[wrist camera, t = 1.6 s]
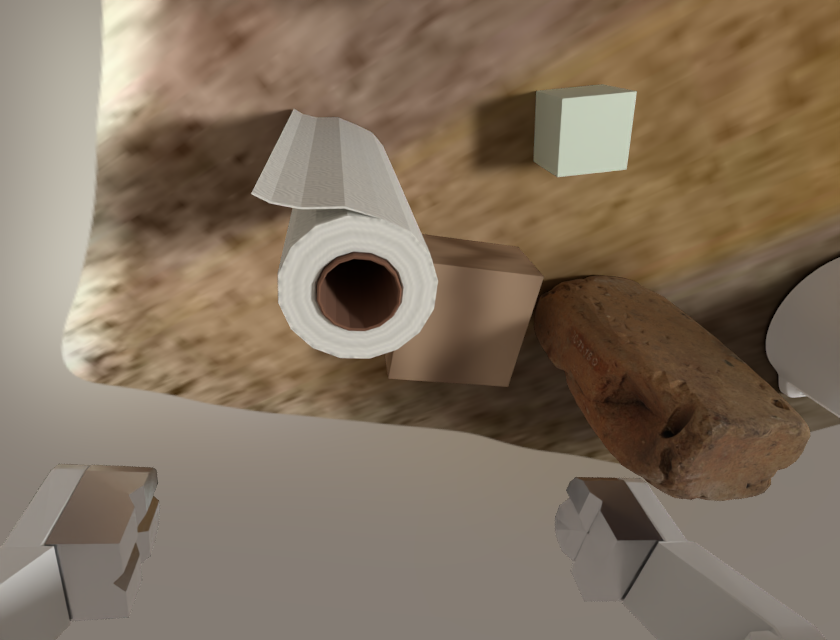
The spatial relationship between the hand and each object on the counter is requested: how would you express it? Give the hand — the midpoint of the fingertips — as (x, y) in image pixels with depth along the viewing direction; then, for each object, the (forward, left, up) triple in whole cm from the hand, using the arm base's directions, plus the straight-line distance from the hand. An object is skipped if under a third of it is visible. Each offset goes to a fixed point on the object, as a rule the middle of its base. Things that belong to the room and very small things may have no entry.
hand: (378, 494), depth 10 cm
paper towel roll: (0, 0, -32) cm, 32 cm away
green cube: (-16, -5, -32) cm, 36 cm away
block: (-23, +10, -32) cm, 40 cm away
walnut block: (-10, +10, -31) cm, 34 cm away
